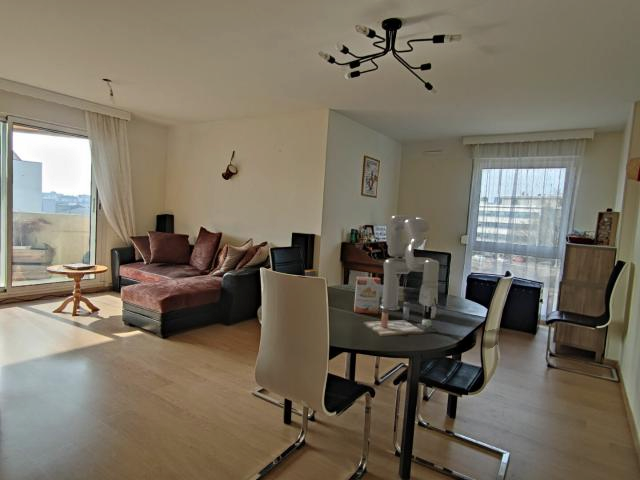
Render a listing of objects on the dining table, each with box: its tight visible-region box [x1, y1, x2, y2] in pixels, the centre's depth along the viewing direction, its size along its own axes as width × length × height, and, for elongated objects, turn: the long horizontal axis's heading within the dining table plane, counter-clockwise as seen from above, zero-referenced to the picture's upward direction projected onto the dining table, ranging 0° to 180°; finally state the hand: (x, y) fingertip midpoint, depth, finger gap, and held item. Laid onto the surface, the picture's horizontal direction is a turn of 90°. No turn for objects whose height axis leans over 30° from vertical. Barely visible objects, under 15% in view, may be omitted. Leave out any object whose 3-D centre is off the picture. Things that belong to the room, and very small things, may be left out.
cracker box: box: [353, 276, 382, 315], centre depth 221 cm, size 14×6×21 cm, turn 92°
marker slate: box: [402, 301, 411, 322], centre depth 210 cm, size 3×3×10 cm
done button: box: [421, 318, 432, 327], centre depth 194 cm, size 5×5×4 cm
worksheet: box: [363, 319, 425, 337], centre depth 193 cm, size 19×25×1 cm
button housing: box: [416, 322, 437, 334], centre depth 194 cm, size 7×7×2 cm
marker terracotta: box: [381, 307, 390, 328], centre depth 190 cm, size 3×3×10 cm
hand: (427, 318), depth 193 cm, fingers closed
